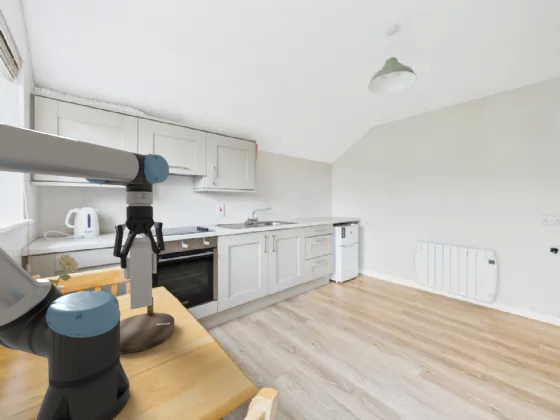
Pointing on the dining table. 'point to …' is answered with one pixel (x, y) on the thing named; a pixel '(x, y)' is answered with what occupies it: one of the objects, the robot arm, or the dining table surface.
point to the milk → (141, 273)
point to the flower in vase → (65, 269)
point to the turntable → (145, 330)
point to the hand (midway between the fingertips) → (140, 275)
